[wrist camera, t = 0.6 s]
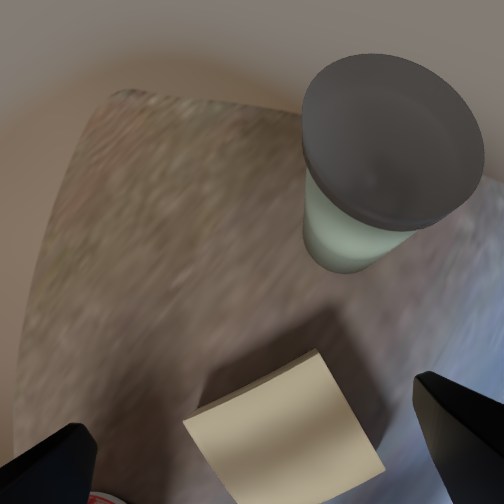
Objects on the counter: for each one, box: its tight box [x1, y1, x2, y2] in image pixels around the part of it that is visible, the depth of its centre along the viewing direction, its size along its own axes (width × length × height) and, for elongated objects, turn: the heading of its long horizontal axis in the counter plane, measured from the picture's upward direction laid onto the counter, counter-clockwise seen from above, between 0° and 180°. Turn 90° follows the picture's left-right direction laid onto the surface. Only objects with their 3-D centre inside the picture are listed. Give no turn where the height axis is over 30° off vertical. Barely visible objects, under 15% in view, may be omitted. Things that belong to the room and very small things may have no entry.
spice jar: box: [302, 54, 484, 274], centre depth 15 cm, size 6×6×13 cm
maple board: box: [182, 348, 386, 504], centre depth 17 cm, size 9×9×3 cm
